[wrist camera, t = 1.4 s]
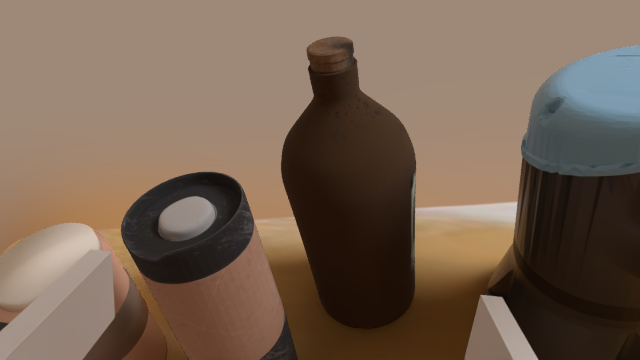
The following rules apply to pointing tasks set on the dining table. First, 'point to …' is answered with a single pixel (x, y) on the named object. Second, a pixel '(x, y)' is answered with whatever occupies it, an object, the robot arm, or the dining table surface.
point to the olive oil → (352, 193)
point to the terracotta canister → (52, 262)
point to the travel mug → (208, 269)
